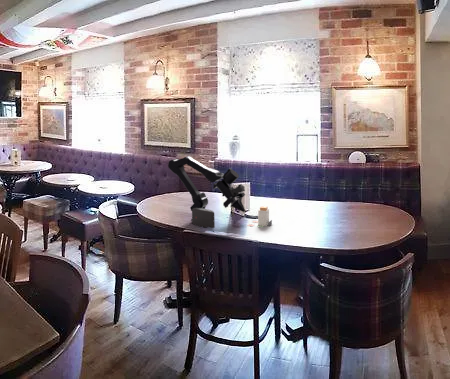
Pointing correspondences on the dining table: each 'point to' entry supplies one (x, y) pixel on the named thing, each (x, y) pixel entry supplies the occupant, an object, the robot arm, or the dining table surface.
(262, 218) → the white bottle
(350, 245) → the dining table surface
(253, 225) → the switch board
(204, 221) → the leaning round-cornered charcoal block
